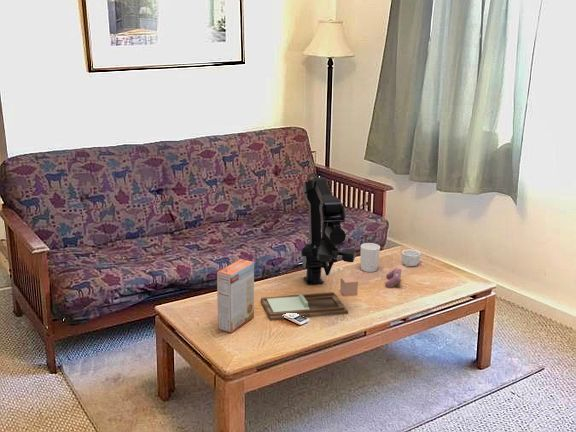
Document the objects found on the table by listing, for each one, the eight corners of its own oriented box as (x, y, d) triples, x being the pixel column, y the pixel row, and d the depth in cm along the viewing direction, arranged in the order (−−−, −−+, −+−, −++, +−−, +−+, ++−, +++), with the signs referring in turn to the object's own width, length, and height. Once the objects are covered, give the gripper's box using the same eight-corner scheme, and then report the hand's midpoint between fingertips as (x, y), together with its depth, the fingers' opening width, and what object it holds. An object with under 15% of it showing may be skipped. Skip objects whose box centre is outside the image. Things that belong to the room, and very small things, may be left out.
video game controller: (394, 292, 264) (403, 277, 262) (383, 286, 264) (393, 271, 262) (395, 282, 273) (404, 268, 271) (385, 276, 273) (394, 262, 271)
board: (260, 300, 249) (260, 296, 249) (334, 295, 256) (334, 290, 255) (270, 320, 235) (270, 315, 234) (348, 313, 241) (348, 309, 241)
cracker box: (240, 313, 239) (240, 257, 232) (254, 318, 236) (255, 261, 230) (216, 329, 227) (216, 270, 221) (231, 334, 224) (231, 275, 218)
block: (340, 290, 260) (340, 277, 258) (352, 289, 261) (353, 276, 260) (344, 296, 256) (345, 282, 254) (357, 295, 257) (357, 281, 255)
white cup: (381, 268, 283) (383, 245, 280) (373, 274, 276) (375, 251, 273) (364, 264, 287) (366, 241, 284) (355, 269, 280) (357, 246, 277)
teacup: (409, 269, 282) (410, 257, 281) (396, 263, 288) (397, 251, 287) (427, 264, 288) (428, 252, 286) (413, 259, 294) (415, 247, 292)
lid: (266, 300, 247) (266, 294, 246) (301, 297, 250) (301, 292, 249) (273, 313, 237) (273, 307, 236) (309, 310, 240) (309, 304, 239)
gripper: (298, 238, 236) (296, 280, 241) (351, 245, 232) (349, 287, 237) (305, 228, 246) (304, 268, 251) (357, 234, 242) (354, 275, 247)
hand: (327, 275), depth 246 cm, fingers closed
